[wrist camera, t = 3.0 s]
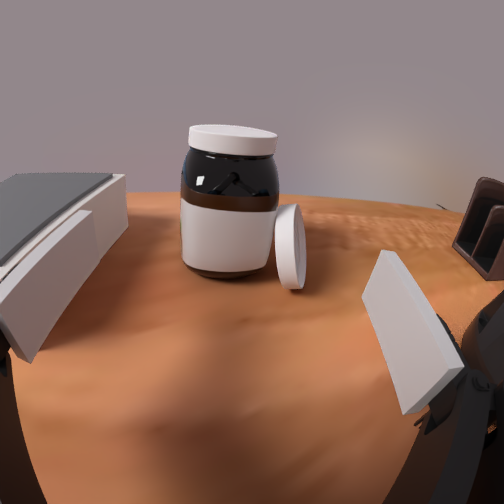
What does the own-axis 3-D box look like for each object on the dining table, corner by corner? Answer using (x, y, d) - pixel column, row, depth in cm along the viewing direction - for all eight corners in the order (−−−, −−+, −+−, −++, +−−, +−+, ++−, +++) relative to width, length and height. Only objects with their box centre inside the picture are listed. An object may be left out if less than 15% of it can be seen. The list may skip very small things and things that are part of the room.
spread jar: (181, 230, 29) (186, 121, 23) (282, 233, 31) (301, 132, 25) (177, 309, 19) (176, 141, 13) (322, 304, 22) (366, 162, 16)
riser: (128, 226, 28) (125, 171, 25) (36, 351, 13) (-3, 274, 10) (24, 215, 28) (17, 171, 24) (-61, 293, 12) (-83, 240, 9)
